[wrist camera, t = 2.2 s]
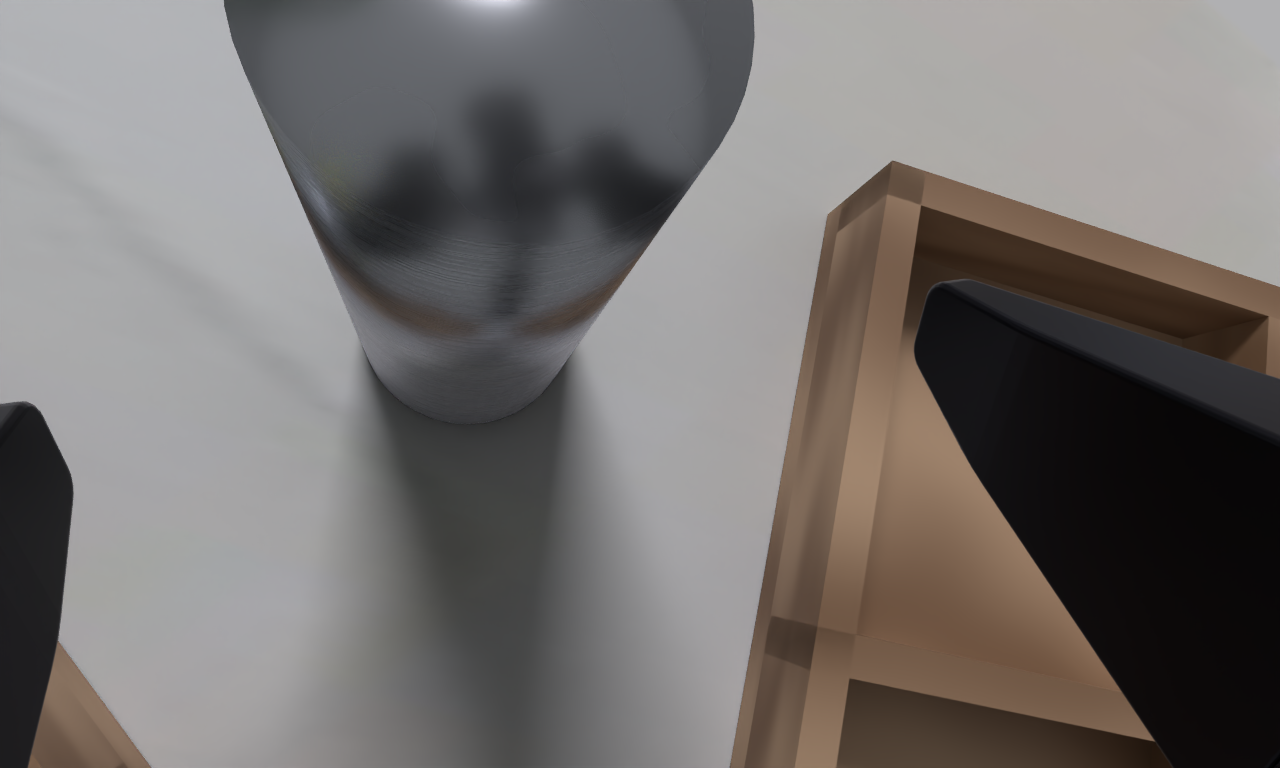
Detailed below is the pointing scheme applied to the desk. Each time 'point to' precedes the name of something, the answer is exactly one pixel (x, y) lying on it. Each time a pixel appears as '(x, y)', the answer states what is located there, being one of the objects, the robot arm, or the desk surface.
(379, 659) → the desk surface
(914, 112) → the desk surface
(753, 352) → the desk surface
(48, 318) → the desk surface
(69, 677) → the brown shallow tray
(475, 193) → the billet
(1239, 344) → the wooden divided tray
